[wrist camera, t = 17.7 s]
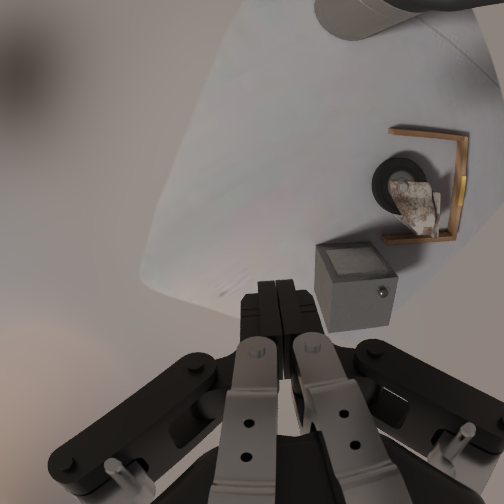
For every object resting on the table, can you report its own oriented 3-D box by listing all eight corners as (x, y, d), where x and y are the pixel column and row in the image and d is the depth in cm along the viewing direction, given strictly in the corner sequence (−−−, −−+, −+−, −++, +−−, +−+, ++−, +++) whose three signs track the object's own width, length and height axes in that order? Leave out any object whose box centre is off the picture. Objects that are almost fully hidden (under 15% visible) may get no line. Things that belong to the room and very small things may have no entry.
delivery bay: (388, 128, 40) (395, 129, 38) (461, 135, 40) (469, 137, 38) (382, 239, 48) (387, 246, 46) (449, 235, 48) (456, 241, 46)
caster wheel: (368, 157, 45) (426, 161, 43) (367, 230, 47) (424, 231, 46) (378, 155, 38) (444, 160, 37) (377, 239, 41) (441, 240, 39)
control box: (315, 243, 48) (334, 283, 37) (370, 239, 48) (400, 277, 37) (314, 291, 52) (329, 337, 41) (365, 286, 52) (389, 329, 41)
